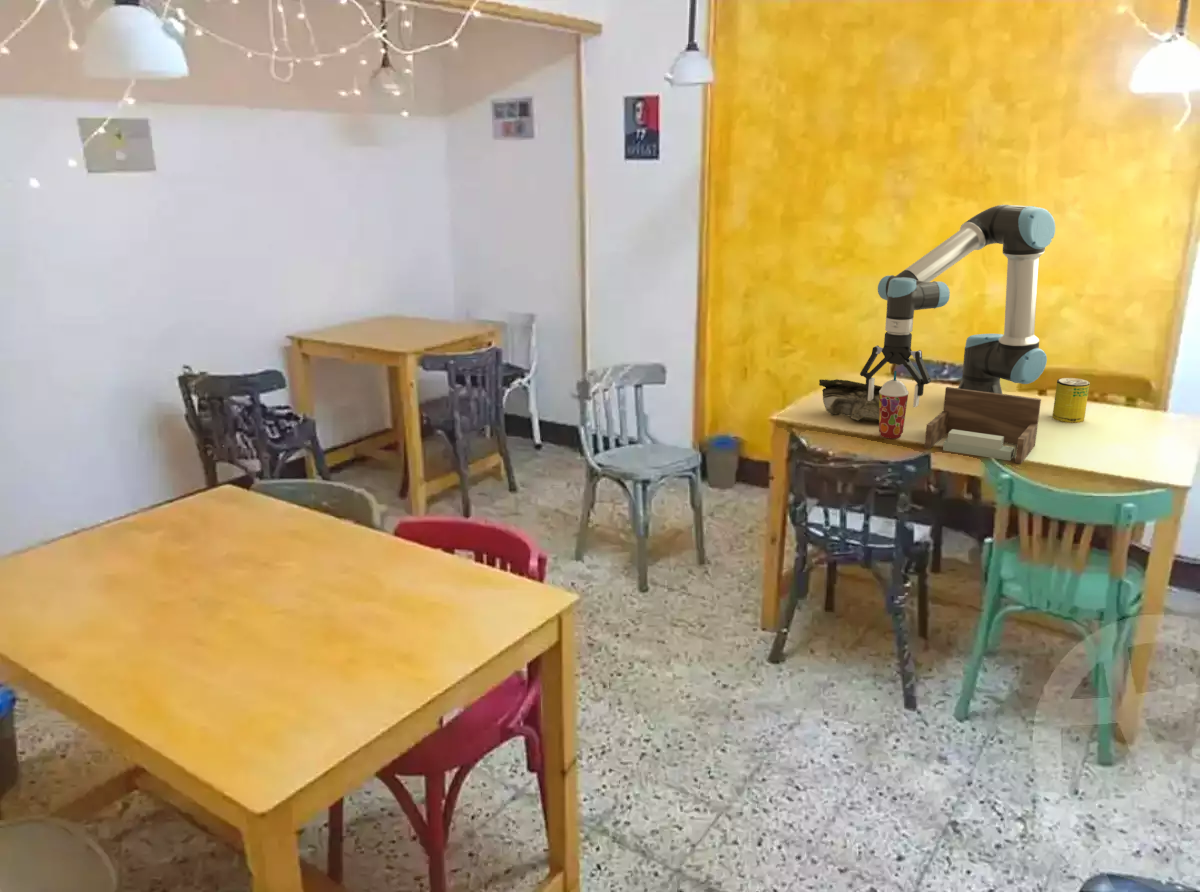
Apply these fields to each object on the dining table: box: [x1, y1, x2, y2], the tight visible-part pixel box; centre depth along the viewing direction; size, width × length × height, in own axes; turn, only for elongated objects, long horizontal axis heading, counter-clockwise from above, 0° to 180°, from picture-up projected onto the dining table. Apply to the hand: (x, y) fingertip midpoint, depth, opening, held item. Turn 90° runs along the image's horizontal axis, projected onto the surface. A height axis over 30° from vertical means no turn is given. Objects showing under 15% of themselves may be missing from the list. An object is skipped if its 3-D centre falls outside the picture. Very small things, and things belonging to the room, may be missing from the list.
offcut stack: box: [942, 429, 1016, 461], centre depth 262 cm, size 4×18×6 cm, turn 57°
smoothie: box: [878, 370, 910, 440], centre depth 276 cm, size 8×8×20 cm
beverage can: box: [1051, 377, 1090, 424], centre depth 290 cm, size 9×9×12 cm
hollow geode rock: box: [818, 378, 883, 421], centre depth 295 cm, size 28×13×15 cm
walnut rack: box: [924, 386, 1042, 465], centre depth 266 cm, size 18×26×14 cm
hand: (892, 403), depth 276 cm, fingers open, 13 cm apart
